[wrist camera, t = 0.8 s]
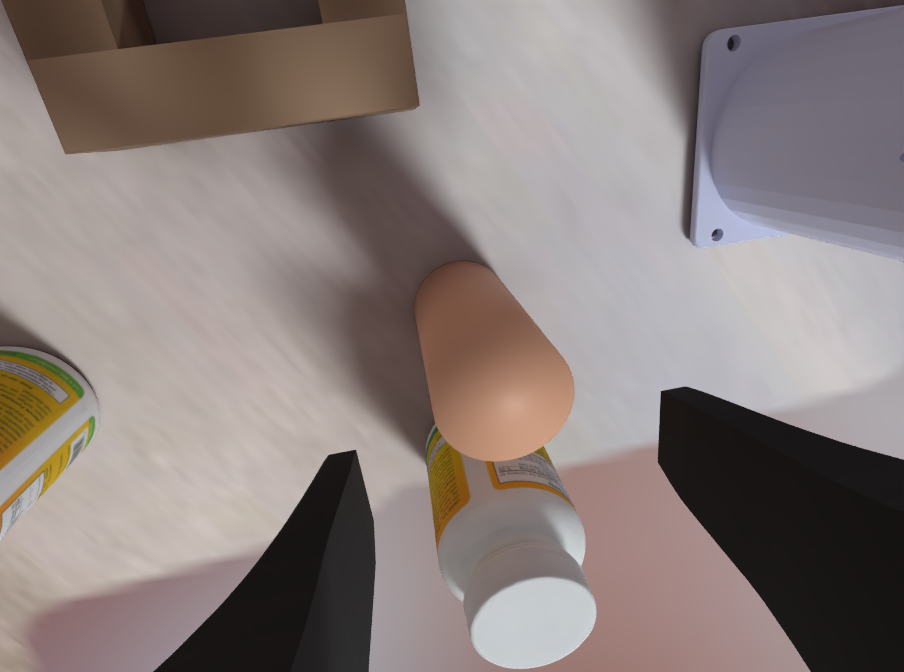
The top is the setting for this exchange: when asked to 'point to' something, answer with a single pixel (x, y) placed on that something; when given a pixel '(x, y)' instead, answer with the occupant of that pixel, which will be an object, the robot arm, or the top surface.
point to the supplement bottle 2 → (510, 554)
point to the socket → (209, 72)
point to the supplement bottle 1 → (39, 426)
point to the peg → (488, 366)
